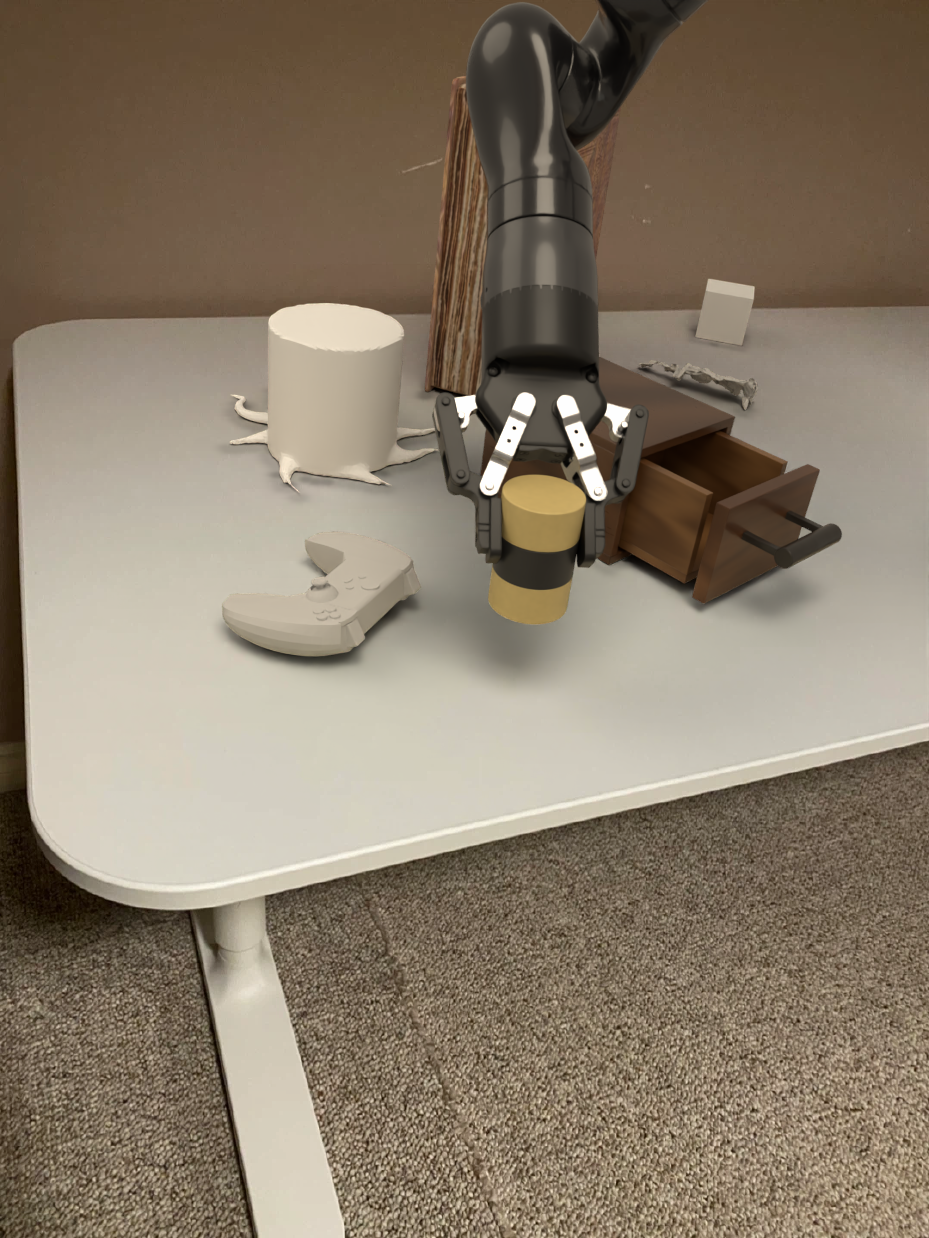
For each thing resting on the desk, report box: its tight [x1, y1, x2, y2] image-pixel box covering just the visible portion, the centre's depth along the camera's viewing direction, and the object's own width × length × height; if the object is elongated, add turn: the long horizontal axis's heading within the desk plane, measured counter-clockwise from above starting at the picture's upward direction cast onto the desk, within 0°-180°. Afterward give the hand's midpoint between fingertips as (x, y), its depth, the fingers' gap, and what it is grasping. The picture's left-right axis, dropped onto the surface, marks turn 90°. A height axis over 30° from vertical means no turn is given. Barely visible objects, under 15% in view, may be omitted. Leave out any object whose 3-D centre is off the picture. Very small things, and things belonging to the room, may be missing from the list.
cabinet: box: [479, 356, 736, 566], centre depth 94 cm, size 16×14×10 cm
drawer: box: [618, 430, 843, 605], centre depth 87 cm, size 19×12×8 cm, turn 43°
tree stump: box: [229, 302, 439, 494], centre depth 99 cm, size 25×20×12 cm
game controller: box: [221, 531, 422, 657], centre depth 77 cm, size 14×4×10 cm
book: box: [424, 75, 622, 396], centre depth 115 cm, size 25×9×30 cm, turn 156°
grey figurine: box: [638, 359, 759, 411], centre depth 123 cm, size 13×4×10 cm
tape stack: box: [487, 475, 586, 625], centre depth 69 cm, size 5×5×8 cm
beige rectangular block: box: [695, 278, 755, 347], centre depth 139 cm, size 6×6×6 cm
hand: (540, 561), depth 67 cm, fingers closed on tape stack, 5 cm apart
